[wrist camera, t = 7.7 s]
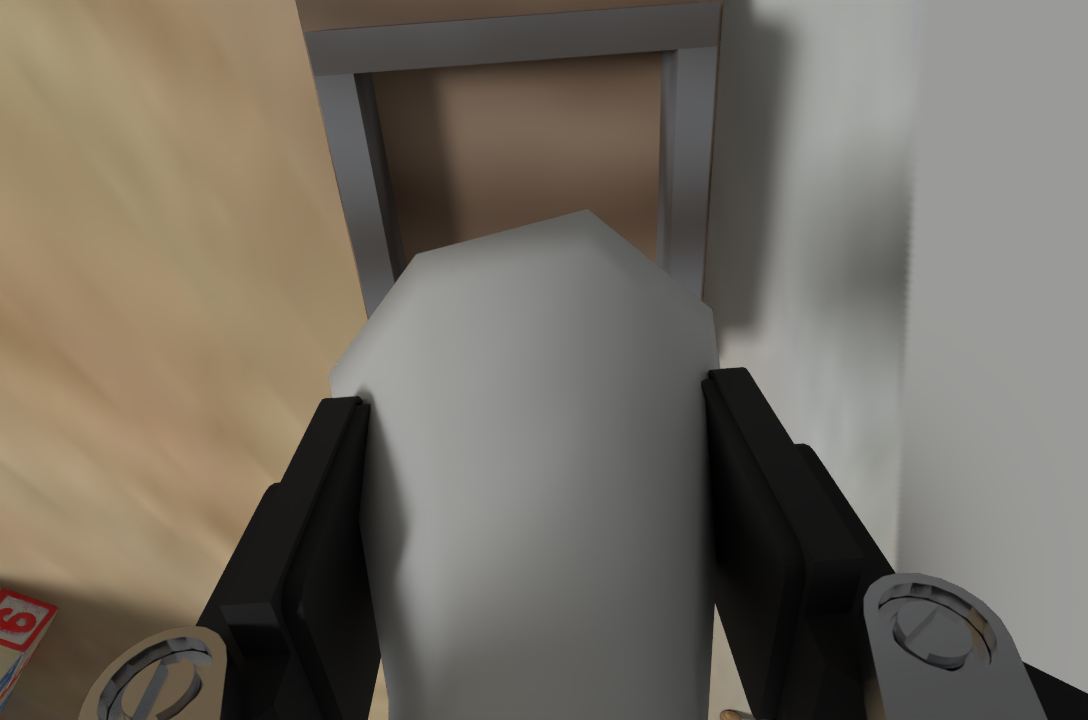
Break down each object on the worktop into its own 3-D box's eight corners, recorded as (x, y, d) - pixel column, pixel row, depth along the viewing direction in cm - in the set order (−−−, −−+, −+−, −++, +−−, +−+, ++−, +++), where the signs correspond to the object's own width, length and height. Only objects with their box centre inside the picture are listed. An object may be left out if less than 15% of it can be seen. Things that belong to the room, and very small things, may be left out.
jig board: (301, -31, 21) (259, -38, 18) (714, -62, 21) (753, -74, 18) (390, 374, 29) (373, 424, 26) (690, 351, 29) (713, 399, 26)
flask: (606, 122, 10) (1536, 1337, 1) (784, 438, 13) (1373, 1390, 4) (260, 355, 11) (-608, 1528, 3) (491, 582, 14) (452, 1462, 6)
